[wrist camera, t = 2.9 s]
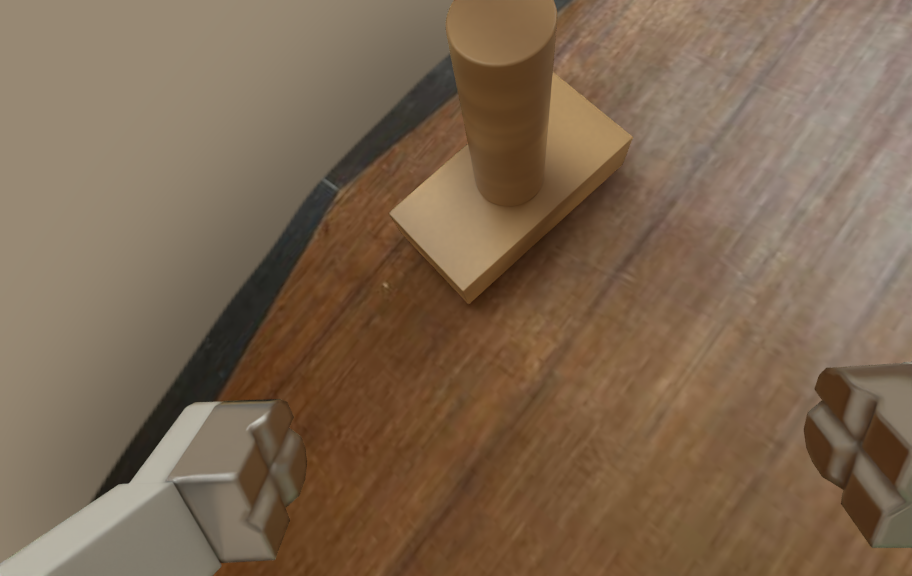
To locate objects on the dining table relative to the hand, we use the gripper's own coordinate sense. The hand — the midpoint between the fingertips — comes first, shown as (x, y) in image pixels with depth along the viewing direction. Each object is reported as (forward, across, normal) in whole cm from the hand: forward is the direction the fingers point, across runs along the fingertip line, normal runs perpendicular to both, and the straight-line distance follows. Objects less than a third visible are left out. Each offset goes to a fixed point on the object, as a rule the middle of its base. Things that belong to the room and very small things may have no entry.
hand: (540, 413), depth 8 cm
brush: (+18, 0, +3) cm, 18 cm away
